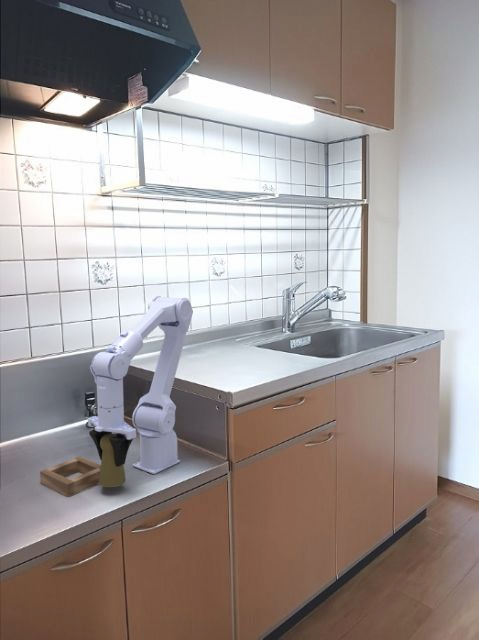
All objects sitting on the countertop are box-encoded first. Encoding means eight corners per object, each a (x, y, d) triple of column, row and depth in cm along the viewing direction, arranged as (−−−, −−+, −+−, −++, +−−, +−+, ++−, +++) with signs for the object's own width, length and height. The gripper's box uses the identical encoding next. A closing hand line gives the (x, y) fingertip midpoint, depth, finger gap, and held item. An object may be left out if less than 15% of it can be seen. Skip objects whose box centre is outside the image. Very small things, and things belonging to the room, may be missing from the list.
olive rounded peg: (104, 489, 111) (103, 441, 110) (94, 480, 116) (94, 434, 114) (130, 482, 114) (129, 436, 113) (119, 474, 119) (118, 429, 118)
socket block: (80, 467, 127) (79, 456, 127) (107, 479, 120) (107, 467, 120) (40, 483, 118) (40, 471, 118) (68, 497, 112) (67, 484, 111)
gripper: (76, 402, 114) (78, 459, 116) (117, 415, 105) (119, 476, 107) (101, 395, 119) (103, 449, 121) (142, 407, 111) (144, 465, 113)
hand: (112, 461), depth 115 cm, fingers closed on olive rounded peg, 5 cm apart
